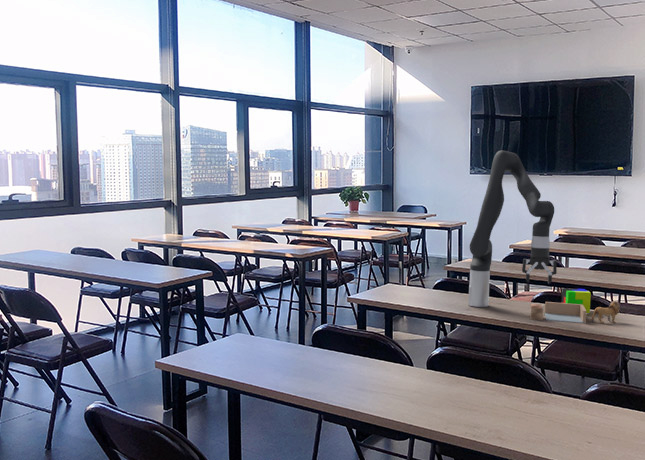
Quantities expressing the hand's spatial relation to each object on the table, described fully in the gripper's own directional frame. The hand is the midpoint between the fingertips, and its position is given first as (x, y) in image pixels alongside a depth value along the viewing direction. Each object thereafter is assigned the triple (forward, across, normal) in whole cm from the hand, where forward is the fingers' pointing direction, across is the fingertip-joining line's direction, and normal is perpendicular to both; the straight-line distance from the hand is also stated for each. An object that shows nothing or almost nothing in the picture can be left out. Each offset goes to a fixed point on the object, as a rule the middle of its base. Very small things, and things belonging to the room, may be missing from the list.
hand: (538, 283), depth 275 cm
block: (+16, 0, 0) cm, 16 cm away
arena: (+16, +12, +5) cm, 20 cm away
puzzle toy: (+16, +18, +24) cm, 34 cm away
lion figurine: (+16, +28, +4) cm, 33 cm away
